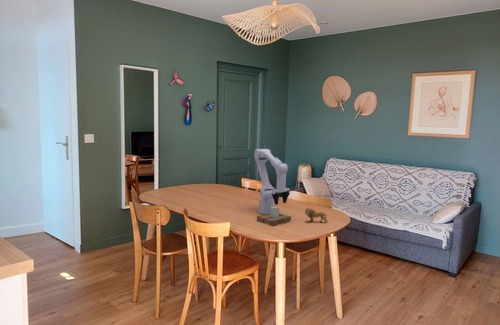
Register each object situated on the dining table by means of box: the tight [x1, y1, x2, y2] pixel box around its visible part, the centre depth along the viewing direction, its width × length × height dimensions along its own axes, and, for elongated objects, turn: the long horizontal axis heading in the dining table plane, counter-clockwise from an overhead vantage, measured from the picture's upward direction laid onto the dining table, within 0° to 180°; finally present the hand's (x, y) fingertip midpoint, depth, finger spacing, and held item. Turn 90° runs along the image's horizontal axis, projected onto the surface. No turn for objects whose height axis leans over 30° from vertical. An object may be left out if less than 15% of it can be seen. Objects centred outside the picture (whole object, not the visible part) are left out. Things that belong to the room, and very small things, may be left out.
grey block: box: [270, 205, 280, 218], centre depth 228 cm, size 4×4×6 cm
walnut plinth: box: [256, 213, 292, 227], centre depth 228 cm, size 14×16×3 cm
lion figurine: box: [304, 207, 329, 224], centre depth 229 cm, size 15×5×9 cm, turn 93°
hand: (280, 203), depth 233 cm, fingers open, 7 cm apart
